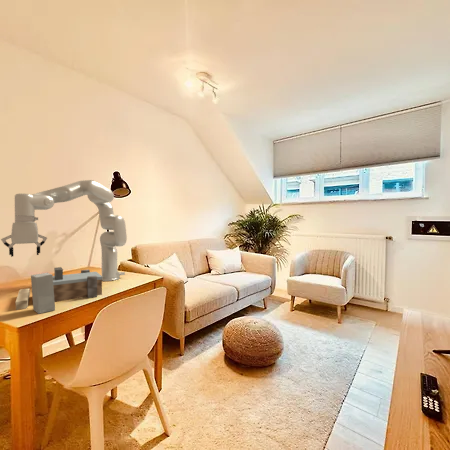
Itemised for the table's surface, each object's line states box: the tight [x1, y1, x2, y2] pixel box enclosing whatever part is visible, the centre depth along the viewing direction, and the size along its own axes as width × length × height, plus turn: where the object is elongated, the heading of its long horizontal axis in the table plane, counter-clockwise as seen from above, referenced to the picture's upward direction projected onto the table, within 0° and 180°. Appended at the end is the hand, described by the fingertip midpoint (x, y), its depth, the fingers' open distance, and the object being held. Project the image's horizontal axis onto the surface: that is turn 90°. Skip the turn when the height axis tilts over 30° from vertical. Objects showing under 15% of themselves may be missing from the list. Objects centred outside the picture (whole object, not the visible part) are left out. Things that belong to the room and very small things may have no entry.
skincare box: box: [30, 272, 56, 314], centre depth 113 cm, size 8×7×16 cm
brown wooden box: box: [53, 269, 103, 302], centre depth 136 cm, size 26×23×10 cm
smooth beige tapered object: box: [15, 288, 31, 311], centre depth 124 cm, size 4×24×4 cm, turn 35°
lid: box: [53, 266, 102, 285], centre depth 136 cm, size 26×16×8 cm, turn 127°
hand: (25, 255), depth 124 cm, fingers open, 9 cm apart
